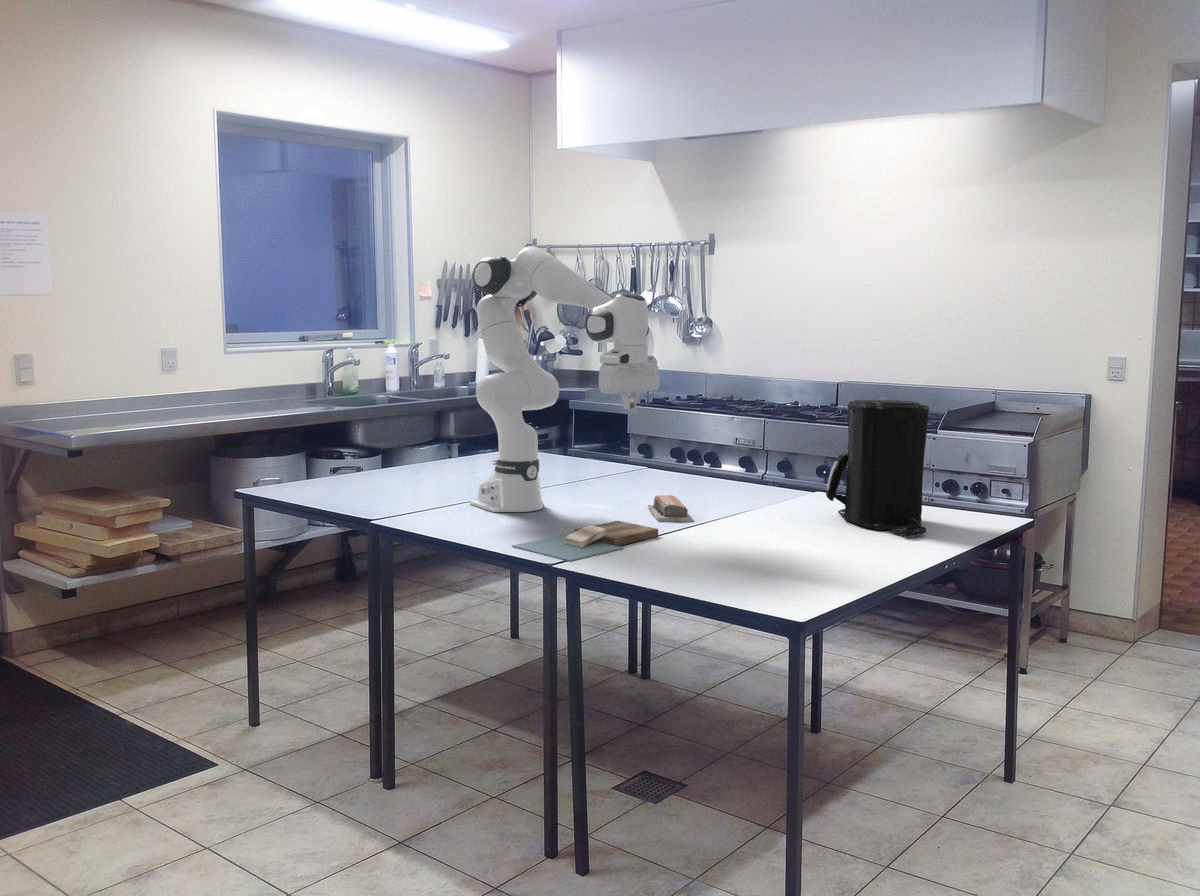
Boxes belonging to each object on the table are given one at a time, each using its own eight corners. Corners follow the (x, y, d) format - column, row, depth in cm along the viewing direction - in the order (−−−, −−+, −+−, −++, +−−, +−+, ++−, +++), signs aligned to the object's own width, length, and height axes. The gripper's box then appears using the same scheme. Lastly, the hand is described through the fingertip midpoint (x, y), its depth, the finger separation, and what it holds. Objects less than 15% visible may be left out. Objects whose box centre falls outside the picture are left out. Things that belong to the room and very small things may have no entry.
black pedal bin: (876, 510, 302) (882, 394, 298) (965, 531, 274) (972, 404, 270) (816, 517, 291) (821, 397, 287) (902, 540, 263) (909, 407, 259)
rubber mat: (511, 546, 251) (511, 545, 251) (565, 535, 264) (565, 534, 263) (570, 561, 237) (570, 560, 237) (623, 548, 250) (623, 547, 250)
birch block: (581, 547, 249) (580, 541, 249) (564, 543, 253) (563, 537, 253) (607, 534, 255) (606, 528, 255) (589, 530, 259) (588, 524, 259)
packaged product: (647, 494, 299) (681, 493, 300) (647, 510, 300) (681, 510, 301) (657, 505, 281) (693, 505, 282) (656, 523, 282) (693, 523, 283)
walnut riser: (574, 537, 262) (574, 529, 261) (617, 528, 273) (617, 520, 273) (615, 546, 252) (615, 538, 252) (658, 536, 264) (658, 528, 263)
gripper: (647, 354, 280) (646, 406, 281) (594, 356, 265) (594, 410, 267) (665, 355, 275) (664, 407, 277) (613, 357, 261) (612, 412, 262)
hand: (629, 409), depth 272 cm, fingers closed
